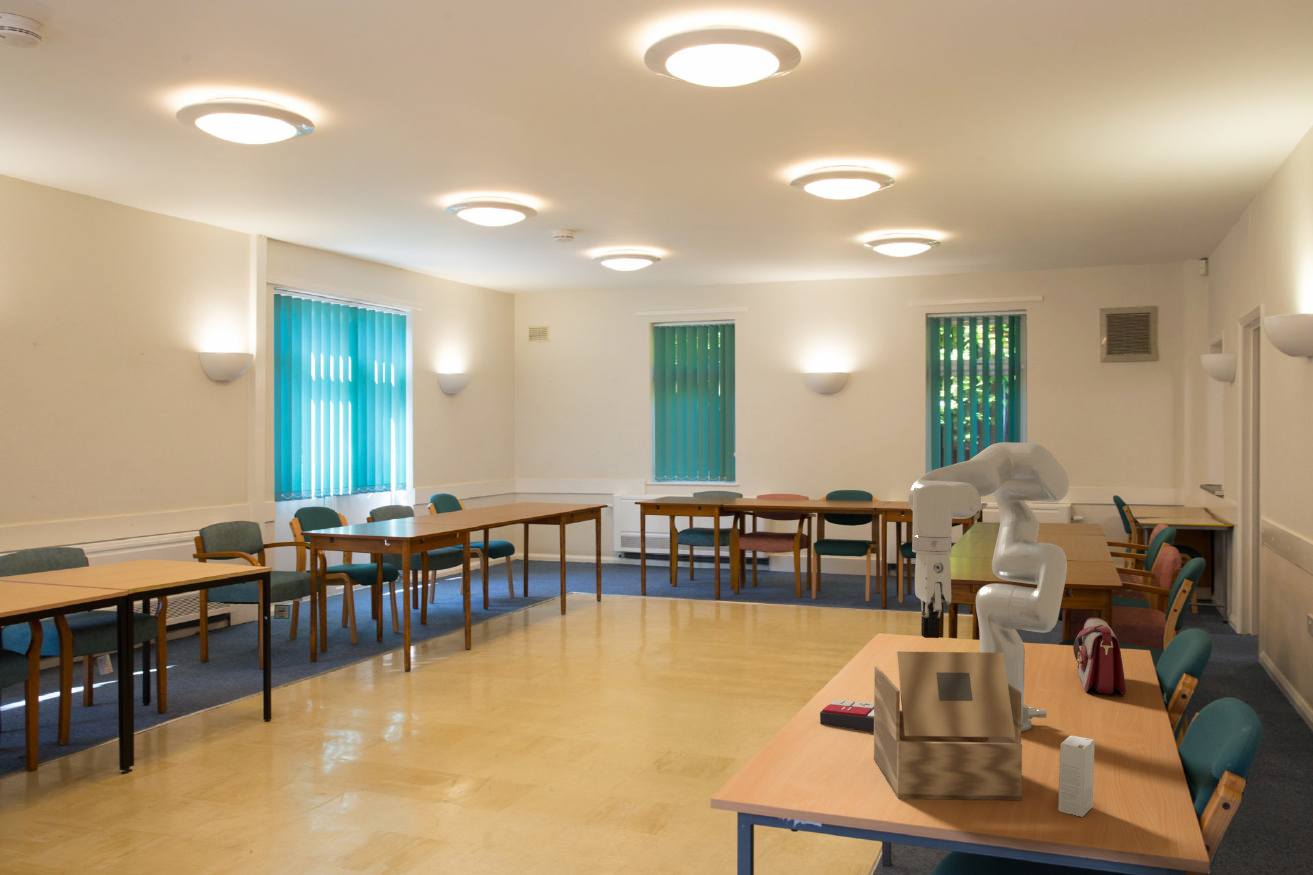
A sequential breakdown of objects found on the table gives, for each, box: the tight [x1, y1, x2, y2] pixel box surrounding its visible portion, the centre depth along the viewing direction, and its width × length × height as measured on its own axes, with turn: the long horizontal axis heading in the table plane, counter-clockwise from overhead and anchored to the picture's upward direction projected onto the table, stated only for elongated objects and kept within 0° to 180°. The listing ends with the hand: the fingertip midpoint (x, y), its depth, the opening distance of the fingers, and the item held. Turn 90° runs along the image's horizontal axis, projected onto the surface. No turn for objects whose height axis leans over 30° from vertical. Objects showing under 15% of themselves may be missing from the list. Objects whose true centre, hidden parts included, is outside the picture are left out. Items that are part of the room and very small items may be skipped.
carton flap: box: [896, 651, 1015, 737], centre depth 169 cm, size 20×15×1 cm
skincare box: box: [1057, 735, 1095, 818], centre depth 161 cm, size 6×4×12 cm
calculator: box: [819, 698, 874, 734], centre depth 210 cm, size 11×4×15 cm
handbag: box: [1072, 617, 1127, 696], centre depth 244 cm, size 28×11×17 cm, turn 160°
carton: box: [873, 665, 1023, 801], centre depth 175 cm, size 22×20×19 cm
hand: (930, 636), depth 184 cm, fingers closed
